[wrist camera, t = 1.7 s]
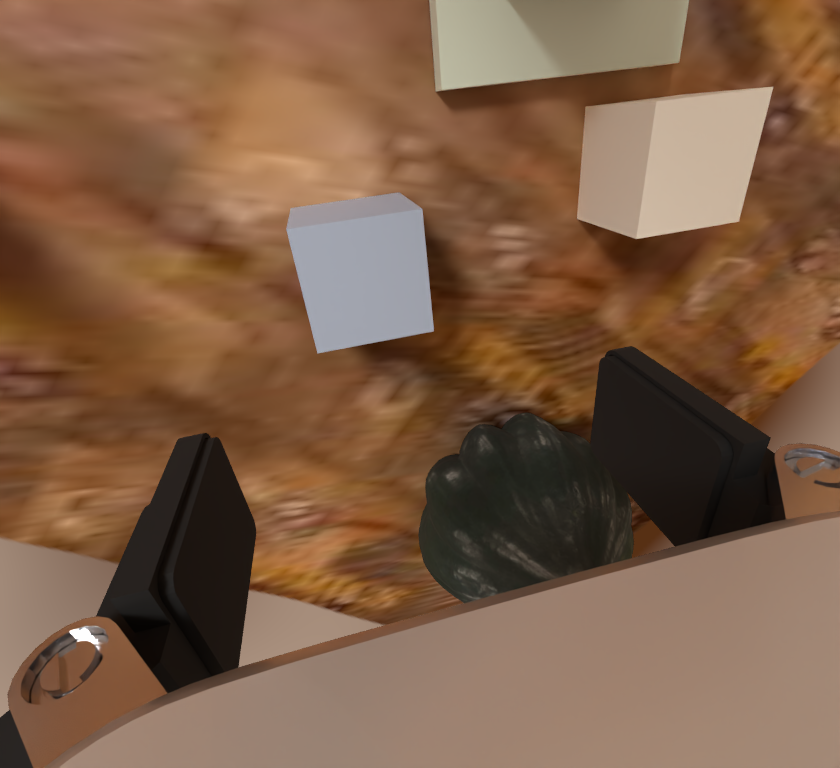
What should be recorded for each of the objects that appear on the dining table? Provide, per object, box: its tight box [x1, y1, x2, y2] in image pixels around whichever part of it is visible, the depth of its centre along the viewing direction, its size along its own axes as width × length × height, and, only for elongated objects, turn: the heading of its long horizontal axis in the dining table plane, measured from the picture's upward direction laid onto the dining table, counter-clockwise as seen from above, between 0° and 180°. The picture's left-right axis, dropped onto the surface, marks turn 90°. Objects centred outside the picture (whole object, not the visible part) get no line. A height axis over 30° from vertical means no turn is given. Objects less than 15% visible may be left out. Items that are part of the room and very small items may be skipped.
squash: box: [419, 413, 634, 603], centre depth 32 cm, size 14×15×15 cm
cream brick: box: [577, 87, 773, 239], centre depth 24 cm, size 6×6×6 cm
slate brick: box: [286, 193, 434, 353], centre depth 24 cm, size 6×6×6 cm
